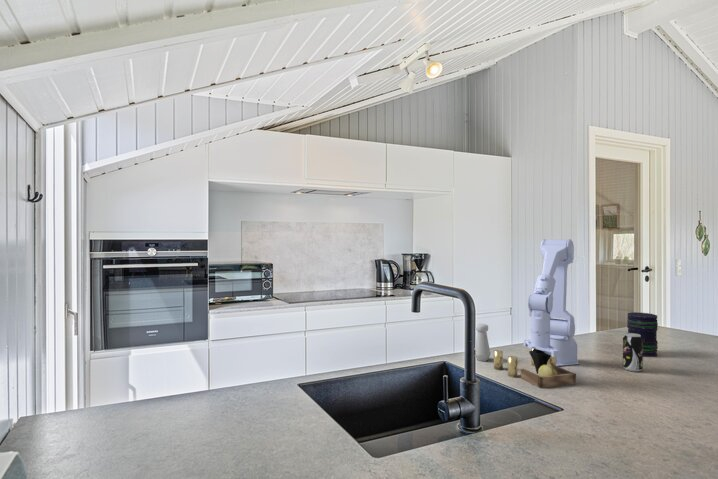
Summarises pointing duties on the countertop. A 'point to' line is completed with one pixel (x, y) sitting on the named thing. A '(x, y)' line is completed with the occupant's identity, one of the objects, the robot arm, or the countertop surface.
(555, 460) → the countertop surface
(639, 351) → the beverage can
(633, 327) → the storage jar
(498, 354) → the spacer field
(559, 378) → the corral
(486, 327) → the salt shaker
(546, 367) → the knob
